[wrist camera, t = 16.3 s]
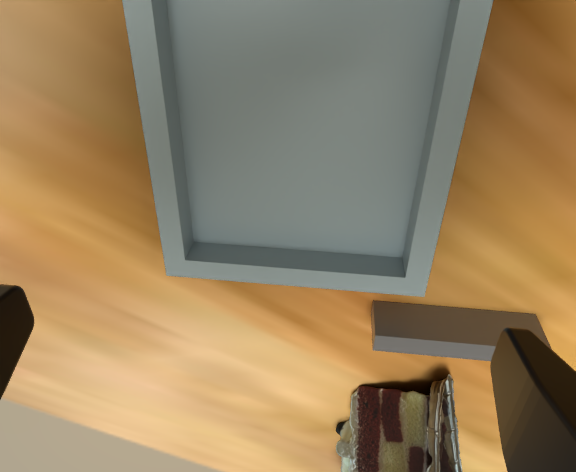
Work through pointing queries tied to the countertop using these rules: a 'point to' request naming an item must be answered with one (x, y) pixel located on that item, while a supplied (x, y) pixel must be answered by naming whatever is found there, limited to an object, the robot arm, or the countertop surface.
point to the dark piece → (401, 431)
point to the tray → (304, 134)
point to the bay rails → (444, 329)
